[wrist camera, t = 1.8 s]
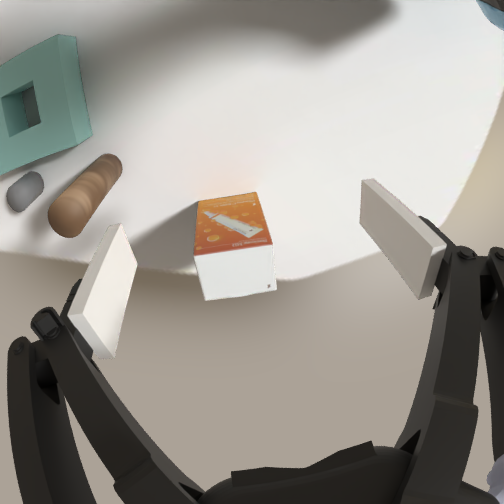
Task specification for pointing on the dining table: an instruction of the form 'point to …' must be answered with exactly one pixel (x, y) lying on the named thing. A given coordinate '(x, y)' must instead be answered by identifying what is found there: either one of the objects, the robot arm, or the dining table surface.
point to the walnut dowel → (84, 196)
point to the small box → (233, 247)
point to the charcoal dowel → (25, 191)
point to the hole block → (42, 103)
